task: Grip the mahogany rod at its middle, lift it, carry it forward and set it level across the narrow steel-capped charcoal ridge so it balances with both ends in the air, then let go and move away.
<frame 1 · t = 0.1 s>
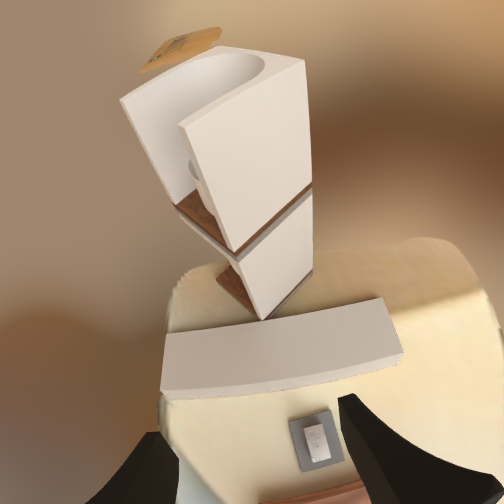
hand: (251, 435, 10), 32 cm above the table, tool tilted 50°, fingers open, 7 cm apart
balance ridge: (316, 441, 35), on the table
white tower model: (265, 280, 50), on the table
decorative molding: (279, 356, 43), on the table
mahogany rod: (331, 499, 29), on the table
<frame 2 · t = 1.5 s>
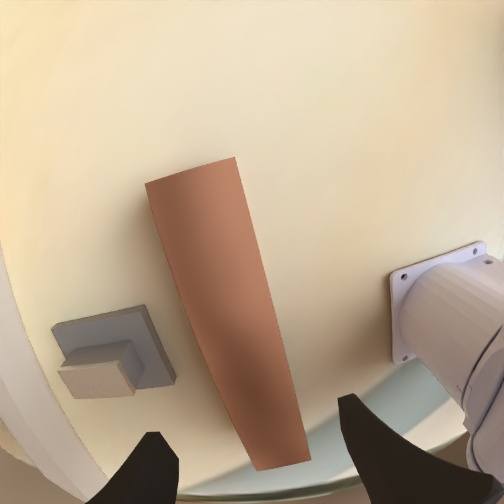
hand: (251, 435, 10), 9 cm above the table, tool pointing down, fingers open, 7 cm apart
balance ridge: (113, 351, 19), on the table
decorative molding: (17, 374, 21), on the table
mahogany rod: (245, 322, 19), on the table
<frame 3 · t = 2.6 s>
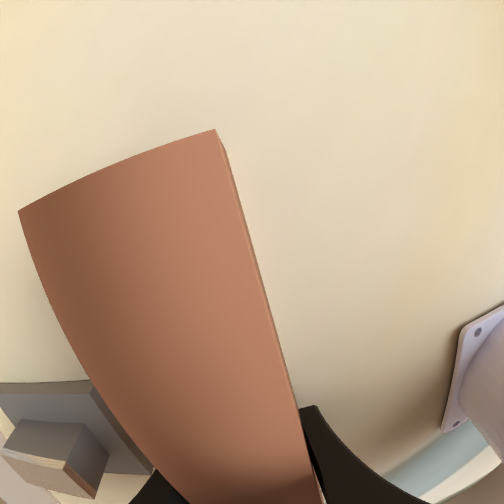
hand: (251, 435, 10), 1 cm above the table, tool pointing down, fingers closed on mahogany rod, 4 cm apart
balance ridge: (68, 425, 12), on the table
mahogany rod: (249, 408, 12), on the table, touching gripper
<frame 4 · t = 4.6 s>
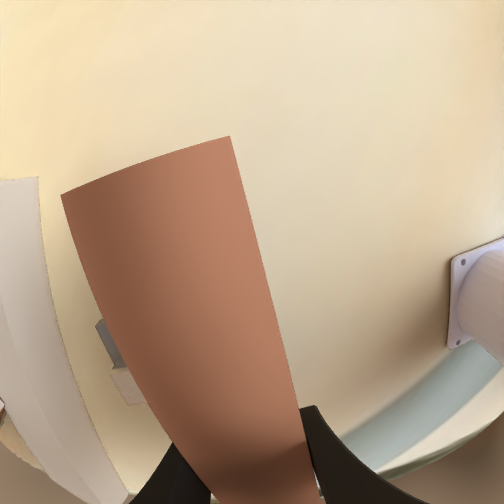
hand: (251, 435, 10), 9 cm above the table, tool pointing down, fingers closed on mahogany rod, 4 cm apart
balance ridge: (169, 348, 18), on the table
decorative molding: (38, 377, 20), on the table
mahogany rod: (248, 386, 13), point 5 cm above the table, touching gripper
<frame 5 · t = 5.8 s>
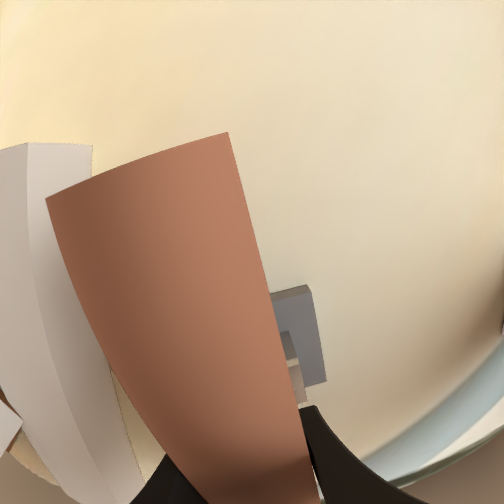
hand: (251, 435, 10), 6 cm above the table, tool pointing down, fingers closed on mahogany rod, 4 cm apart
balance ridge: (246, 349, 16), on the table
decorative molding: (63, 388, 18), on the table
mahogany rod: (248, 395, 12), point 4 cm above the table, touching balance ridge, gripper
when the fingers open (6 cm above the table, at t = 6.2 s): mahogany rod stays where it is, resting on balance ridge.
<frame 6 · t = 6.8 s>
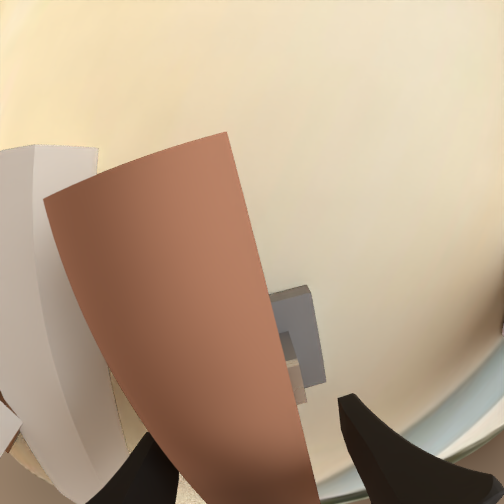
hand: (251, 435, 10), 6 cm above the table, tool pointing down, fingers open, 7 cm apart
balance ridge: (246, 350, 16), on the table
decorative molding: (60, 388, 18), on the table
mahogany rod: (248, 396, 12), point 4 cm above the table, touching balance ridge
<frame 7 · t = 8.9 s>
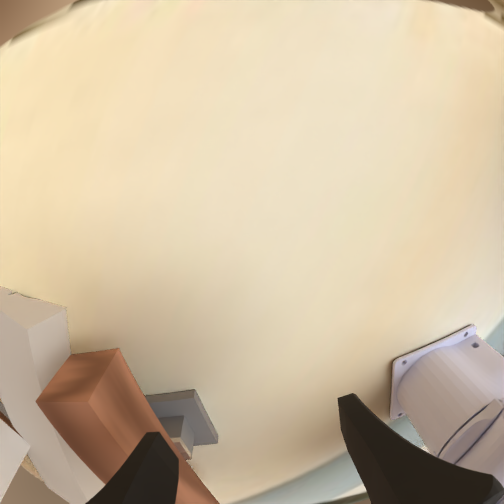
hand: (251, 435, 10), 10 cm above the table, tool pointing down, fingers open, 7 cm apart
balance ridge: (164, 419, 22), on the table
decorative molding: (53, 422, 24), on the table
mahogany rod: (155, 451, 19), point 4 cm above the table, touching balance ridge
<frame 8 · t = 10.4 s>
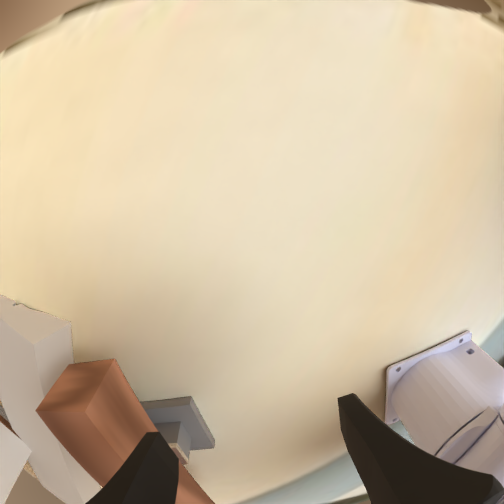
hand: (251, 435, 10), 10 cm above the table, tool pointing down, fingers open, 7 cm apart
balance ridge: (162, 424, 23), on the table
white tower model: (0, 422, 24), on the table
decorative molding: (52, 426, 24), on the table
mahogany rod: (153, 456, 19), point 4 cm above the table, touching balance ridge
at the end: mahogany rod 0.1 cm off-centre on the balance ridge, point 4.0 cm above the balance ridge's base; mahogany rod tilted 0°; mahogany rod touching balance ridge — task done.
